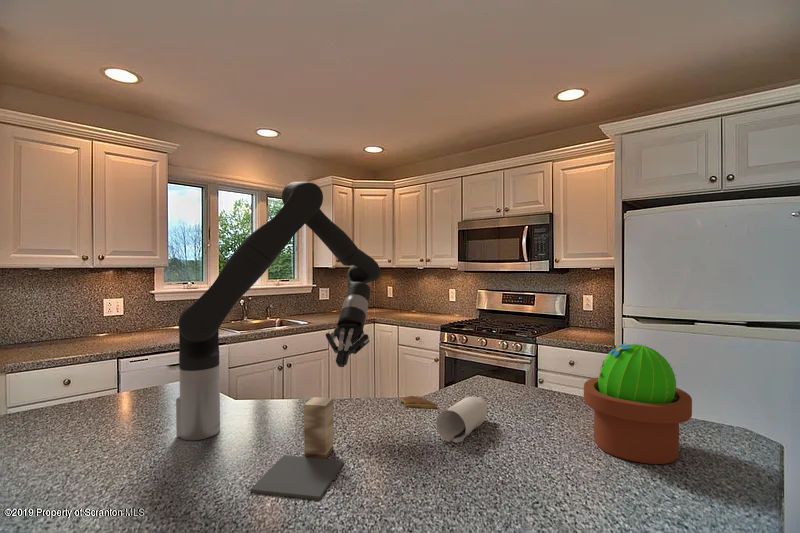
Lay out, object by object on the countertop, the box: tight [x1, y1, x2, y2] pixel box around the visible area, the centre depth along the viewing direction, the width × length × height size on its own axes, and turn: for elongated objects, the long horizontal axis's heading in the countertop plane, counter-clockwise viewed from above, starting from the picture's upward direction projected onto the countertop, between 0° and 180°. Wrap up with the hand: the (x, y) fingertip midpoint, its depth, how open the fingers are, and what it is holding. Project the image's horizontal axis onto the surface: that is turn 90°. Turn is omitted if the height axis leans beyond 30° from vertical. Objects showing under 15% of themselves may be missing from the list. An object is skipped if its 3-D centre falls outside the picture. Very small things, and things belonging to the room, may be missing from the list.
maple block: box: [303, 396, 334, 459], centre depth 95 cm, size 5×5×12 cm
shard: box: [399, 395, 439, 409], centre depth 126 cm, size 11×8×2 cm
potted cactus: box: [583, 342, 693, 465], centre depth 98 cm, size 22×22×25 cm
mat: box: [249, 454, 345, 501], centre depth 85 cm, size 14×14×1 cm
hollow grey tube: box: [435, 396, 488, 444], centre depth 108 cm, size 8×19×8 cm, turn 145°
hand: (340, 365), depth 111 cm, fingers closed
